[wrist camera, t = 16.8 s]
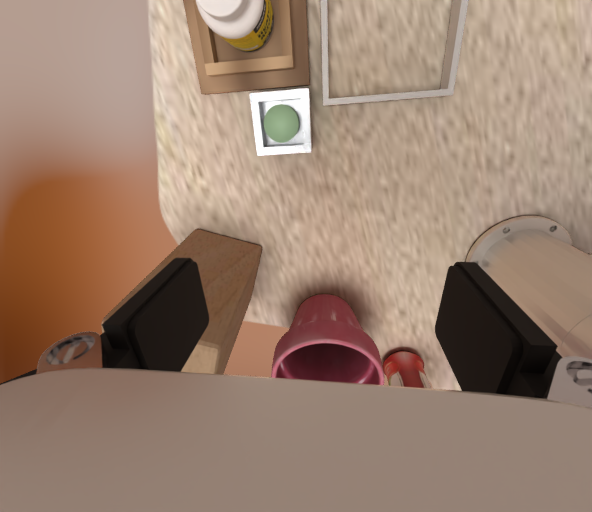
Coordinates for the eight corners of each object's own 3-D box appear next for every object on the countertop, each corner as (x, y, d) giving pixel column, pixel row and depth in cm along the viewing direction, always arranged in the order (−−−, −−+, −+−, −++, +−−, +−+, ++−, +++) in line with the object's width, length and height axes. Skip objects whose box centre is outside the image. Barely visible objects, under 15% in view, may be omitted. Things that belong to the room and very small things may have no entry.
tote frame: (466, -46, 25) (478, -59, 23) (444, 96, 30) (453, 95, 29) (319, -28, 27) (319, -38, 25) (322, 105, 32) (323, 105, 30)
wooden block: (190, 283, 45) (105, 396, 27) (195, 227, 40) (97, 319, 22) (251, 298, 45) (207, 419, 28) (263, 245, 41) (219, 349, 23)
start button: (298, 103, 30) (297, 102, 28) (300, 139, 32) (299, 141, 30) (265, 106, 30) (261, 105, 28) (269, 141, 32) (265, 143, 30)
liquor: (421, 374, 50) (520, 631, 26) (379, 375, 51) (435, 624, 26) (424, 344, 47) (539, 605, 22) (379, 346, 48) (442, 599, 23)
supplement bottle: (274, 55, 29) (255, 32, 20) (222, 51, 29) (181, 27, 20) (276, -15, 26) (255, -75, 18) (219, -19, 27) (171, -80, 18)
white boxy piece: (309, 90, 31) (308, 88, 28) (312, 147, 34) (311, 152, 30) (257, 95, 32) (249, 93, 28) (263, 150, 35) (257, 155, 31)
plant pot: (382, 332, 47) (402, 404, 35) (307, 357, 50) (303, 428, 39) (347, 265, 41) (357, 324, 30) (266, 298, 45) (248, 362, 34)
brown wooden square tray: (303, -69, 25) (301, -87, 23) (309, 85, 31) (308, 83, 29) (177, -51, 27) (163, -66, 24) (205, 94, 32) (196, 93, 30)
